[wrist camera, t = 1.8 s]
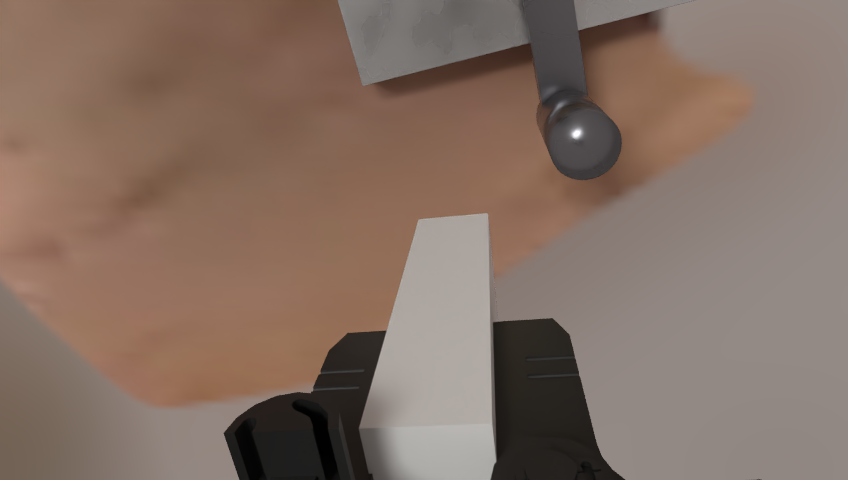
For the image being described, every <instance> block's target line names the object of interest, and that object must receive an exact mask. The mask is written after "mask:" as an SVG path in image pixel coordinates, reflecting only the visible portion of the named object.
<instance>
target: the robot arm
mask: <svg viewBox="0 0 848 480" xmlns="http://www.w3.org/2000/svg"><path fill="white" fill-rule="evenodd" d="M313 389H314V390H313V392H311V393H301V392H297V393H291V394H285V395H279V396H275V397H273V398H270V399H268V400H266V401H263V402H261V403H258V404H256V405H254V406H253V407H251V408H250V409H248V410H247V411H246V412H244V413H243V414H241V415H240V416H239V417H237V418H236V419H235V421H234V422H233V423H232V424H231V425H230V426H229V427H228V429H227V430H226V431H225V432H224V436H225V438H226V442H227V444H228V447H229V450H230V453H231V456H232V459H233V462H234V465H235V468H236V471H237V474H238V477H239V480H625V479H623V478H622V477H621V476H620V475H619V474H617V473H616V472H615V471H613V470H612V469H611V467H610V466H609V465H608V464H607V462H606V461H605V460H604V459H603V457H602V456H601V453H600V451H599V448H598V446H597V443H596V439H595V435H594V431H593V427H592V423H591V419H590V415H589V411H588V407H587V403H586V399H585V395H584V391H583V388H582V383H581V379H580V376H579V371H578V368H577V363H576V359H575V356H574V351H573V347H572V343H571V339H570V336H569V334H568V333H567V332H566V331H565V330H564V329H563V328H562V327H561V326H560V325H559V324H558V323H557V322H556V321H555V320H554V319H552V318H550V319H534V320H518V321H503V322H498V314H497V304H496V292H495V282H494V271H493V260H492V250H491V239H490V228H489V218H488V213H484V214H473V215H461V216H450V217H439V218H428V219H419V220H418V224H417V227H416V231H415V234H414V237H413V241H412V244H411V248H410V251H409V255H408V258H407V262H406V265H405V269H404V272H403V276H402V279H401V283H400V286H399V290H398V293H397V297H396V300H395V304H394V307H393V311H392V314H391V318H390V321H389V325H388V328H387V331H374V332H358V333H347V334H346V335H345V336H344V337H343V338H342V339H341V340H340V341H339V342H338V343H337V344H336V345H335V346H334V347H333V348H331V349H330V350H329V352H328V354H327V357H326V359H325V361H324V364H323V366H322V368H321V374H320V375H318V378H317V380H316V382H315V385H314V387H313Z"/></svg>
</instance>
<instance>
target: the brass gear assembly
mask: <svg viewBox="0 0 848 480" xmlns="http://www.w3.org/2000/svg"><path fill="white" fill-rule="evenodd" d="M522 5H523V10H524V16H525V21H526V27H527V32H528V38H529V44H530V49H531V55H532V60H533V66H534V72H535V77H536V83H537V88H538V94H539V100H540V103H539V105H538V108H537V113H536V119H537V124H538V127H539V129H540V132H541V134H542V137H543V139H544V141H545V144H546V146H547V149H548V151H549V154H550V156H551V159H552V161H553V163H554V165H555V166H556V168H557V169H558V170H559V171H560V172H561V173H562V174H564V175H565V176H567V177H570V178H572V179H577V180H588V179H593V178H596V177H599V176H601V175H602V174H604V173H605V172H607V171H608V170H609V169H610V168H611V167H612V166H613V165H614V164H615V162H616V161H617V159H618V157H619V154H620V151H621V144H622V142H621V135H620V132H619V129H618V127H617V126H616V124H615V123H614V122H613V121H612V120H611V119H610V118H609V117H608V116H607V115H606V114H605V113H604V112H603V111H602V110H601V109H600V108H599V107H598V106H597V105H596V104H595V103H594V102H593V101H592V100H591V99H590V98H589V97H588V94H587V87H586V80H585V73H584V66H583V60H582V53H581V46H580V39H579V32H578V26H577V19H576V12H575V5H574V0H522Z"/></svg>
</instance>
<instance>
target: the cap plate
mask: <svg viewBox="0 0 848 480" xmlns="http://www.w3.org/2000/svg"><path fill="white" fill-rule="evenodd" d="M690 1H694V0H574V5H575V12H576V19H577V26H578V30H582V29H586V28H590V27H593V26H597V25H601V24H605V23H609V22H613V21H617V20H621V19H624V18H628V17H632V16H636V15H640V14H644V13H648V12H652V11H655V10H659V9H663V8H667V7H671V6H675V5H679V4H682V3H686V2H690ZM338 3H339V6H340V10H341V13H342V17H343V20H344V24H345V27H346V31H347V34H348V37H349V41H350V44H351V48H352V51H353V55H354V58H355V61H356V65H357V68H358V72H359V75H360V79H361V82H362V85H363V86H365V85H369V84H373V83H376V82H380V81H384V80H388V79H392V78H396V77H400V76H404V75H407V74H411V73H415V72H419V71H423V70H427V69H431V68H435V67H438V66H442V65H446V64H450V63H454V62H458V61H462V60H466V59H469V58H473V57H477V56H481V55H485V54H489V53H493V52H497V51H500V50H504V49H508V48H512V47H516V46H520V45H524V44H528V43H529V38H528V32H527V27H526V21H525V16H524V10H523V5H522V0H338Z"/></svg>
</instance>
